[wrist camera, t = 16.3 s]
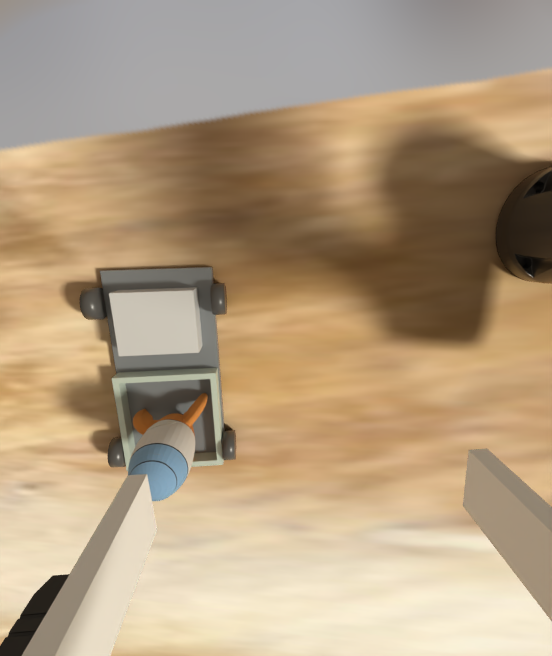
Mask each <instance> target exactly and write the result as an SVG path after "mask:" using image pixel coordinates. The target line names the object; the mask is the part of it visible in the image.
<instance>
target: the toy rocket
mask: <svg viewBox="0 0 552 656" xmlns="http://www.w3.org/2000/svg"><path fill="white" fill-rule="evenodd" d="M207 398H208V395H207V394H206V393H202V394H201V395H200V396H199V397H198V398H197V399H196V401H195V402H194V403H193V404H192V405H191V407H190V408H189V409H188V411H187V412H185V413H184V414H180V413H173V414H169V415H166V416H164V417H163V418H161V419H160V420H153V417H152V415H151V414H150V413H149V412H148V411H147V410H146V409H142V410H140V411H138V412H137V413H136V414H135V416H134V418H133V425H134V428H135V429H136V430H137V431H138V432H139V433H140V434H142V435H143V436H142V437H141V438H140V440H139V441H138V443H137V445H136V447H135V449H134V450H133V453H132V455H131V458H130V462H129V466H128V475H141V474H147V476H148V482H149V487H150V493H151V498H152V501H160V500H163V499H166V498H168V497H169V496H170V495H172V494H173V493H174V492H176V491H177V490H178V489H179V487H180V486H181V485H182V484H183V483H184V481H185V479H186V477H187V476H188V474H189V471H190V469H191V465H192V462H193V458H194V453H195V435H194V429H193V423H194V422H195V421H196V420H197V418H198V417H199V416H200V414H201V413H202V411H203V409H204V408H205V406H206V403H207Z"/></svg>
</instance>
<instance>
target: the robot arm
mask: <svg viewBox="0 0 552 656" xmlns="http://www.w3.org/2000/svg"><path fill="white" fill-rule="evenodd" d="M496 243H497V249H498V253H499V255H500V258H501V260H502V262H503V263H504V265H505V266H506V268H507V269H508V270H509V271H510V272H511V273H513V274H514V275H515V276H517V277H519V278H521V279H523V280H527V281H531V282H539V283H552V167H549V168H546V169H543V170H540V171H538V172H536V173H534V174H532V175H531V176H529V177H528V178H526V179H525V180H524V181H523V182H521V183H520V184H519V185H518V186H517V187H516V188H515V189H514V191H513V192H512V193H511V194H510V196H509V197H508V199H507V201H506V202H505V204H504V206H503V208H502V210H501V213H500V216H499V219H498V223H497V230H496ZM463 507H464V508H465V509H466V510H467V512H468V513H469V514H470V516H471V517H472V518H473V520H474V521H475V522H476V523H477V525H478V526H479V527H480V529H481V530H482V531H483V533H484V534H485V535H486V536H487V538H488V539H489V540H490V542H491V543H492V544H493V546H494V547H495V548H496V549H497V551H498V552H499V553H500V555H501V556H502V557H503V559H504V560H505V561H506V562H507V564H508V565H509V566H510V568H511V569H512V570H513V572H514V573H515V574H516V575H517V577H518V578H519V579H520V581H521V582H522V583H523V585H524V586H525V587H526V588H527V590H528V591H529V592H530V594H531V595H532V596H533V598H534V599H535V600H536V601H537V603H538V604H539V605H540V607H541V608H542V609H543V611H544V612H545V613H546V614H547V616H548V617H549V618H550V620H551V621H552V507H551V506H550V505H549V504H548V503H547V502H545V501H544V500H543V499H542V498H541V497H540V496H539V495H538V494H537V493H535V492H534V491H533V490H532V489H531V488H530V487H529V486H528V485H527V484H526V483H524V482H523V481H522V480H521V479H520V478H519V477H518V476H517V475H516V474H514V473H513V472H512V471H511V470H510V469H509V468H508V467H507V466H506V465H505V464H503V463H502V462H501V461H500V460H499V459H498V458H497V457H496V456H495V455H493V454H492V453H491V452H490V451H489V450H488V449H475V450H469V451H468V461H467V471H466V480H465V490H464V499H463ZM156 532H157V526H156V520H155V515H154V509H153V504H152V498H151V493H150V487H149V482H148V476H147V474H141V475H128V476H127V478H126V479H125V481H124V483H123V485H122V486H121V488H120V490H119V491H118V493H117V495H116V496H115V498H114V500H113V502H112V503H111V505H110V507H109V508H108V510H107V512H106V513H105V515H104V517H103V518H102V520H101V522H100V524H99V525H98V527H97V529H96V530H95V532H94V534H93V535H92V537H91V539H90V541H89V542H88V544H87V546H86V547H85V549H84V551H83V552H82V554H81V556H80V558H79V559H78V561H77V563H76V564H75V566H74V568H73V569H72V571H71V573H70V574H68V575H56V576H52V577H51V578H50V579H49V580H48V581H47V582H46V583H45V584H44V585H43V586H42V587H41V588H40V589H39V590H38V591H37V592H36V593H35V594H34V595H33V597H32V598H31V600H30V601H29V603H28V604H27V606H26V607H25V609H24V611H23V612H22V614H21V616H20V619H18V620H17V621H16V623H15V624H14V626H13V627H12V629H11V630H10V632H9V635H8V637H6V638H5V639H4V641H3V642H2V644H1V646H0V656H110V655H111V653H112V650H113V647H114V645H115V642H116V639H117V636H118V634H119V631H120V628H121V626H122V623H123V620H124V618H125V615H126V612H127V610H128V607H129V604H130V602H131V599H132V596H133V594H134V591H135V588H136V585H137V583H138V580H139V577H140V575H141V572H142V569H143V567H144V564H145V561H146V559H147V556H148V553H149V551H150V548H151V545H152V543H153V540H154V537H155V535H156Z"/></svg>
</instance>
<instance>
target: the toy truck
mask: <svg viewBox="0 0 552 656" xmlns="http://www.w3.org/2000/svg"><path fill="white" fill-rule="evenodd" d="M100 274H101V281H102V287H103V289H102V288H85V289H83V291H82V292H81V295H80V308H81V312H82V314H83V316H84V317H85V318H86V319H88V320H94V319H104V318H106V316H107V318H108V324H109V330H110V337H111V343H112V349H113V355H114V361H115V368H116V375H115V376H114V377H112V384H113V390H114V396H115V402H116V408H117V414H118V420H119V426H120V432H121V437H115V438H113V439H112V441H111V443H110V445H109V449H108V463H109V465H110V467H125V466H126V469H127V471H128V466H129V462H130V458H131V455H132V453H133V450H134V449H135V447H136V445H137V443H138V441H139V440H140V438H141V437H142V436H143V435H142V434H140V433H139V432H138V431H137V430H136V429H135V428H134V425H133V418H134V416H135V414H136V413H137V412H138V411H140V410H142V409H146V410H147V411H148V412H149V413H150V414H151V415H152V417H153V420H160V419H161V418H163V417H164V416H166V415H169V414H173V413H180V414H184V413H185V412H187V411H188V409H189V408H190V407H191V405H192V404H193V403H194V402H195V401H196V399H197V398H198V397H199V396H200V395H201V394H202V393H206V394H207V395H208V398H207V403H206V406H205V408H204V409H203V411H202V413H201V414H200V416H199V417H198V418H197V420H196V421H195V422H194V423H193V429H194V435H195V453H194V458H193V462H192V465H191V467H196V466H211V465H223V462H224V460H233V459H236V434H235V430H231V431H225V429H224V416H223V402H222V389H221V376H220V362H219V349H218V336H217V322H216V315H220V314H226V313H227V297H226V287H225V283H218V284H214V282H213V269H212V267H194V268H162V269H130V270H103V271H100Z"/></svg>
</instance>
